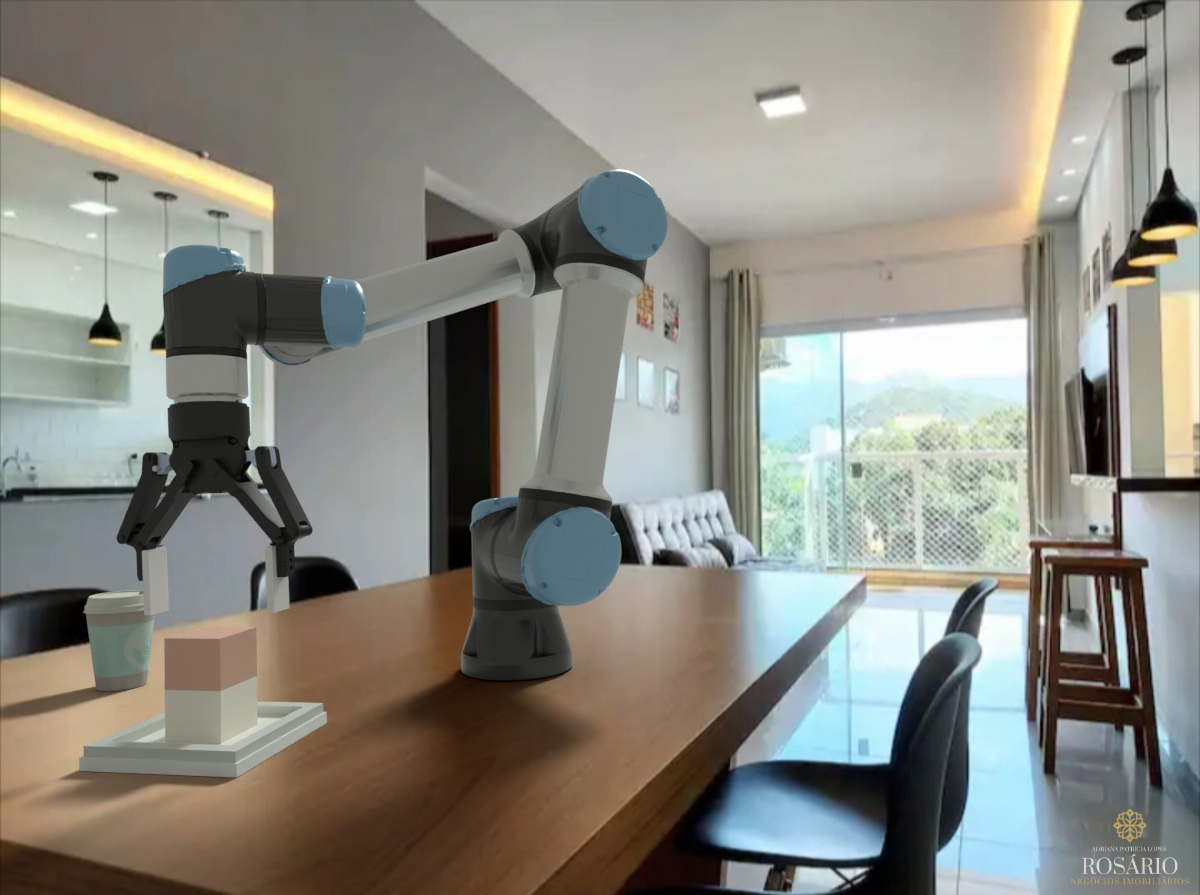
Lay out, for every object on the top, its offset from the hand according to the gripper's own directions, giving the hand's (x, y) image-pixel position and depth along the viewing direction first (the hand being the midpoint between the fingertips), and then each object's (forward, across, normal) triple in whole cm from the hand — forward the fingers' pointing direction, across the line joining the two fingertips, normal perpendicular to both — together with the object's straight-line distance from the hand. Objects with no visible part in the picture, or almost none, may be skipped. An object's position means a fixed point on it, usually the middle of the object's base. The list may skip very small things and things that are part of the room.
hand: (216, 612), depth 83 cm
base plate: (+13, +1, 0) cm, 13 cm away
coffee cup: (+13, +29, -20) cm, 38 cm away
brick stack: (+12, +1, 0) cm, 12 cm away
